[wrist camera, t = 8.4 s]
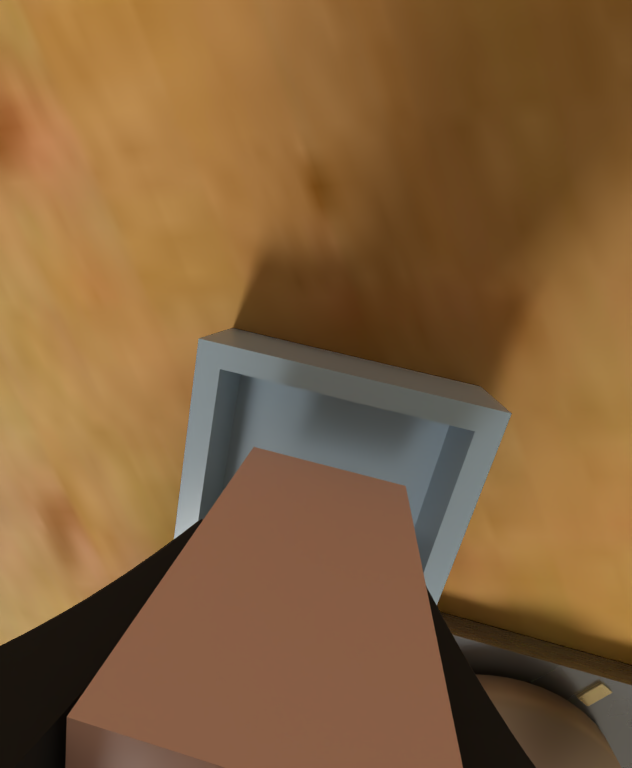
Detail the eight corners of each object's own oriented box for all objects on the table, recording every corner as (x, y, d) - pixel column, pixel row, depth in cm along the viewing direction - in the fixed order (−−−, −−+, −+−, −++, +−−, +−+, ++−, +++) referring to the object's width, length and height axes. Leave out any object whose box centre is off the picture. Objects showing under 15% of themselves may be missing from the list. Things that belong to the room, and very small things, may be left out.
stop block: (231, 569, 12) (60, 932, 5) (253, 446, 11) (66, 717, 4) (366, 607, 12) (368, 1043, 5) (405, 485, 10) (479, 848, 4)
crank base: (315, 778, 20) (312, 806, 19) (375, 593, 16) (375, 615, 15) (555, 855, 19) (566, 888, 18) (674, 677, 16) (696, 705, 15)
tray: (201, 532, 17) (168, 583, 14) (232, 327, 14) (199, 338, 11) (408, 589, 16) (417, 655, 13) (480, 386, 14) (511, 413, 11)
